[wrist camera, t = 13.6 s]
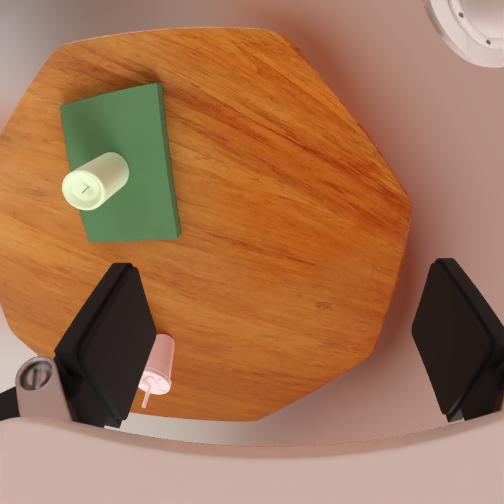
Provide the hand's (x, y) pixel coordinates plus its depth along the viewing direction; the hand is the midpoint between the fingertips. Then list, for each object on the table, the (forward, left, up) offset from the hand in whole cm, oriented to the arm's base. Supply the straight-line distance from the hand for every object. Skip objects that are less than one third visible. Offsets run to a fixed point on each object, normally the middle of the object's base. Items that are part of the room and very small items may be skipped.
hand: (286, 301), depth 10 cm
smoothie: (+33, -20, -30) cm, 49 cm away
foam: (+2, -20, -30) cm, 36 cm away
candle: (+2, -20, -28) cm, 35 cm away
